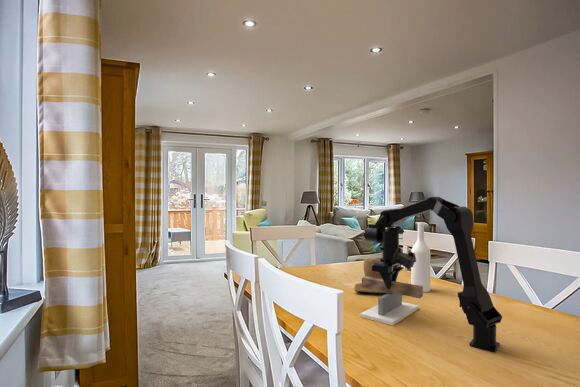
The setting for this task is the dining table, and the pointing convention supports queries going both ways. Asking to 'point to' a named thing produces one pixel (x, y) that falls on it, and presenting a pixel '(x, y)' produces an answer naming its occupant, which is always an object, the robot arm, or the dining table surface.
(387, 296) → the ridge
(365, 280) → the walnut bar
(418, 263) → the bottle
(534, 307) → the dining table surface
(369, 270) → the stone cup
